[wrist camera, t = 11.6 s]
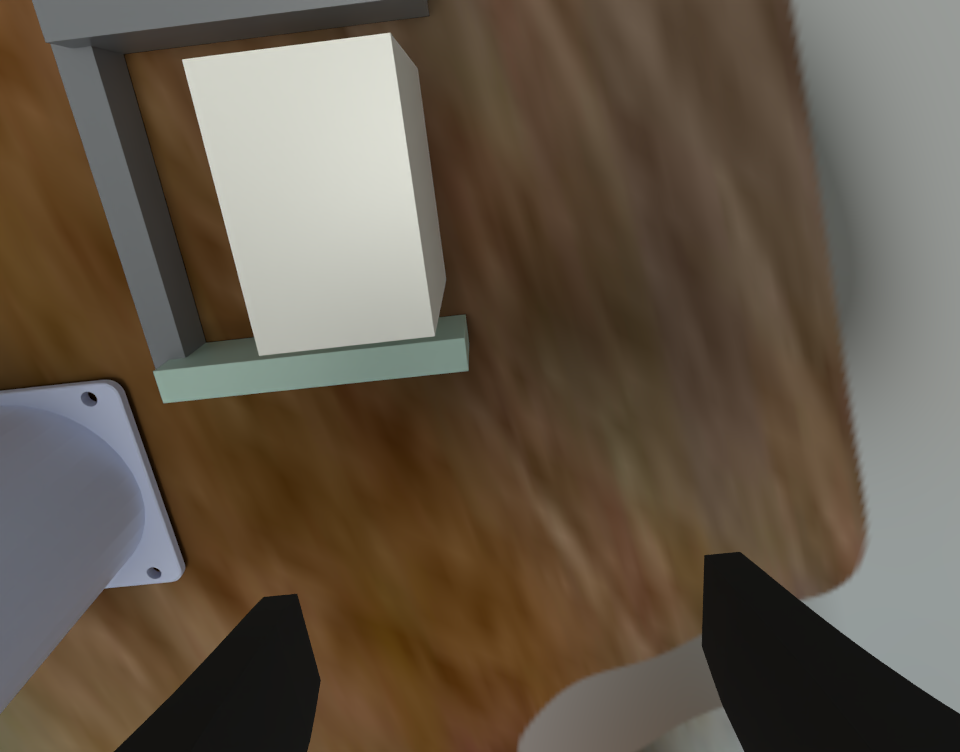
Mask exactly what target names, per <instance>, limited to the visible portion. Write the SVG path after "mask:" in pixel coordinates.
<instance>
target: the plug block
mask: <svg viewBox="0 0 960 752" xmlns="http://www.w3.org/2000/svg"><path fill="white" fill-rule="evenodd" d="M182 61H183V65H184V69H185V73H186V77H187V81H188V84H189V88H190V92H191V96H192V100H193V104H194V107H195V111H196V115H197V119H198V123H199V127H200V131H201V134H202V138H203V142H204V146H205V150H206V154H207V157H208V161H209V165H210V169H211V173H212V177H213V181H214V184H215V188H216V192H217V196H218V200H219V204H220V207H221V211H222V215H223V219H224V223H225V227H226V231H227V234H228V238H229V242H230V246H231V250H232V254H233V257H234V261H235V265H236V269H237V273H238V277H239V281H240V284H241V288H242V292H243V296H244V300H245V304H246V307H247V311H248V315H249V319H250V323H251V327H252V331H253V334H254V338H255V342H256V346H257V350H258V354H259V356H263V355H272V354H281V353H290V352H298V351H307V350H316V349H325V348H334V347H343V346H352V345H361V344H370V343H379V342H388V341H397V340H406V339H415V338H424V337H433V336H435V333H436V328H437V323H438V318H439V313H440V308H441V304H442V299H443V294H444V289H445V284H446V274H445V266H444V259H443V252H442V244H441V237H440V229H439V222H438V215H437V207H436V200H435V192H434V185H433V178H432V170H431V163H430V155H429V148H428V141H427V133H426V126H425V119H424V111H423V104H422V96H421V89H420V82H419V74H418V68H417V67H416V66H415V64H414V63H413V62H412V60H411V59H410V58H409V56H408V55H407V54H406V53H405V51H404V50H403V49H402V47H401V46H400V45H399V43H398V42H397V41H396V40H395V38H394V37H393V36H392V34H391V33H385V34H377V35H369V36H361V37H353V38H346V39H338V40H330V41H322V42H314V43H307V44H299V45H291V46H283V47H276V48H268V49H260V50H252V51H244V52H237V53H229V54H221V55H213V56H205V57H198V58H190V59H182Z"/></svg>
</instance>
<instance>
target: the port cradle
mask: <svg viewBox="0 0 960 752" xmlns="http://www.w3.org/2000/svg"><path fill="white" fill-rule="evenodd" d="M32 2H33V5H34V8H35V11H36V14H37V17H38V20H39V23H40V26H41V29H42V32H43V35H44V38H45V41H46V43H50V44H51V47H52V50H53V53H54V56H55V60H56V63H57V66H58V69H59V72H60V75H61V78H62V81H63V84H64V87H65V90H66V94H67V97H68V100H69V103H70V106H71V109H72V112H73V115H74V118H75V121H76V124H77V128H78V131H79V134H80V137H81V140H82V143H83V146H84V149H85V152H86V155H87V158H88V161H89V165H90V168H91V171H92V174H93V177H94V180H95V183H96V186H97V189H98V192H99V195H100V199H101V202H102V205H103V208H104V211H105V214H106V217H107V220H108V223H109V226H110V229H111V233H112V236H113V239H114V242H115V245H116V248H117V251H118V254H119V257H120V260H121V263H122V267H123V270H124V273H125V276H126V279H127V282H128V285H129V288H130V291H131V294H132V297H133V300H134V304H135V307H136V310H137V313H138V316H139V319H140V322H141V325H142V328H143V331H144V334H145V338H146V341H147V344H148V347H149V350H150V353H151V356H152V359H153V362H154V365H155V368H156V370H154V371H153V373H154V376H155V379H156V382H157V385H158V388H159V391H160V394H161V397H162V400H163V403H170V402H179V401H189V400H198V399H208V398H217V397H227V396H236V395H246V394H255V393H264V392H274V391H283V390H293V389H302V388H312V387H321V386H331V385H340V384H350V383H359V382H368V381H378V380H387V379H397V378H406V377H416V376H425V375H435V374H444V373H454V372H463V371H469V338H468V330H467V322H466V314H465V315H456V316H447V317H439V318H438V323H437V328H436V333H435V336H433V337H424V338H415V339H406V340H397V341H388V342H379V343H370V344H361V345H352V346H343V347H334V348H325V349H316V350H307V351H298V352H290V353H281V354H272V355H263V356H259V354H258V350H257V346H256V342H255V338H244V339H235V340H226V341H217V342H208V343H206V341H205V337H204V334H203V330H202V327H201V323H200V320H199V316H198V313H197V309H196V306H195V302H194V299H193V295H192V292H191V288H190V285H189V281H188V278H187V274H186V271H185V267H184V264H183V260H182V257H181V253H180V250H179V247H178V243H177V240H176V236H175V233H174V229H173V226H172V222H171V219H170V215H169V212H168V208H167V205H166V201H165V198H164V194H163V191H162V187H161V184H160V180H159V177H158V173H157V170H156V166H155V163H154V159H153V156H152V152H151V149H150V145H149V142H148V138H147V135H146V131H145V128H144V124H143V121H142V118H141V114H140V111H139V107H138V104H137V100H136V97H135V93H134V90H133V86H132V83H131V79H130V76H129V72H128V69H127V65H126V62H125V58H124V55H123V54H128V53H136V52H144V51H152V50H160V49H168V48H176V47H184V46H192V45H200V44H208V43H216V42H224V41H232V40H240V39H248V38H256V37H264V36H272V35H280V34H288V33H296V32H304V31H312V30H320V29H328V28H336V27H344V26H352V25H360V24H368V23H376V22H384V21H392V20H400V19H408V18H416V17H424V16H429V11H428V2H427V0H32Z"/></svg>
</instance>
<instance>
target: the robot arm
mask: <svg viewBox="0 0 960 752" xmlns="http://www.w3.org/2000/svg"><path fill="white" fill-rule="evenodd" d="M88 392H91V393H93V394H94V395H95V396H96V397H97V402H96V401H93V400H92V399H90V397H89V396H88ZM153 567H154V568H157V569H159V570H160V572H158V571H156V570H154V569H153ZM184 571H185V563H184V560H183V558H182V555H181V552H180V549H179V546H178V543H177V540H176V537H175V535H174V532H173V529H172V526H171V523H170V520H169V517H168V514H167V512H166V509H165V506H164V503H163V500H162V497H161V494H160V492H159V489H158V486H157V483H156V480H155V477H154V474H153V471H152V469H151V466H150V463H149V460H148V457H147V454H146V451H145V448H144V446H143V443H142V440H141V437H140V434H139V431H138V428H137V426H136V423H135V420H134V417H133V414H132V411H131V408H130V405H129V403H128V400H127V397H126V394H125V391H124V390H123V388H122V386H120V385H119V384H118V383H117V382H115V381H112V380H96V381H86V382H77V383H68V384H58V385H49V386H40V387H30V388H21V389H12V390H2V391H0V714H1V713H2V711H3V710H4V709H5V708H6V707H7V705H8V704H9V703H10V702H11V700H12V699H13V698H14V697H15V696H16V694H17V693H18V692H19V691H20V690H21V688H22V687H23V686H24V685H25V684H26V682H27V681H28V680H29V679H30V678H31V676H32V675H33V674H34V673H35V672H36V670H37V669H38V668H39V667H40V665H41V664H42V663H43V662H44V661H45V659H46V658H47V657H48V656H49V655H50V653H51V652H52V651H53V650H54V649H55V647H56V646H57V645H58V644H59V643H60V641H61V640H62V639H63V638H64V637H65V635H66V634H67V633H68V632H69V630H70V629H71V628H72V627H73V626H74V624H75V623H76V622H77V621H78V620H79V618H80V617H81V616H82V615H83V614H84V612H85V611H86V610H87V609H88V608H89V606H90V605H91V604H92V603H93V602H94V600H95V599H96V598H97V597H98V595H99V594H100V593H101V592H102V591H103V589H104V588H114V587H125V586H135V585H145V584H156V583H166V582H174V581H177V580H178V579H179V578H180V577H181V576H182V574H183V573H184ZM702 648H703V651H704V654H705V657H706V660H707V663H708V665H709V669H710V671H711V674H712V677H713V680H714V683H715V686H716V688H717V691H718V694H719V697H720V700H721V702H722V705H723V707H724V709H725V712H726V714H727V716H728V718H729V720H730V722H731V724H732V726H733V729H734V731H735V733H736V735H737V737H738V739H739V741H740V743H741V745H742V747H743V750H744V752H960V714H959V713H958V712H956V711H954V710H953V709H951V708H950V707H948V706H946V705H945V704H943V703H942V702H940V701H938V700H937V699H935V698H934V697H932V696H931V695H929V694H928V693H926V692H925V691H923V690H922V689H920V688H919V687H917V686H916V685H914V684H913V683H911V682H910V681H908V680H907V679H906V678H904V677H903V676H901V675H900V674H898V673H897V672H895V671H894V670H892V669H891V668H889V667H888V666H887V665H885V664H884V663H882V662H881V661H879V660H878V659H877V658H875V657H874V656H872V655H871V654H870V653H868V652H867V651H866V650H864V649H863V648H861V647H860V646H859V645H857V644H856V643H855V642H853V641H852V640H850V639H849V638H848V637H846V636H845V635H844V634H842V633H841V632H840V631H839V630H837V629H836V628H835V627H833V626H832V625H831V624H829V623H828V622H827V621H825V620H824V619H823V618H822V617H820V616H819V615H818V614H816V613H815V612H814V611H812V610H811V609H810V608H809V607H808V606H806V605H805V604H804V603H802V602H801V601H800V600H799V599H797V598H796V597H795V596H794V595H792V594H791V593H790V592H789V591H788V590H786V589H785V588H784V587H783V586H781V585H780V584H779V583H778V582H776V581H775V580H774V579H773V578H772V577H770V576H769V575H768V574H767V573H765V572H764V571H763V570H762V569H761V568H759V567H758V566H757V565H756V564H754V563H753V562H752V561H751V560H749V559H748V558H747V557H746V556H744V555H743V554H742V553H741V552H734V553H723V554H713V555H704V589H703V624H702ZM320 681H321V680H320V676H319V673H318V669H317V665H316V662H315V658H314V654H313V651H312V647H311V643H310V640H309V636H308V632H307V629H306V625H305V621H304V618H303V614H302V610H301V607H300V603H299V599H298V596H297V594H291V595H281V596H270V597H263V598H262V599H261V600H260V601H259V602H258V603H257V604H256V605H255V606H254V607H253V609H252V610H251V611H250V612H249V613H248V614H247V615H246V616H245V617H244V618H243V619H242V620H241V621H240V623H239V624H238V625H237V626H236V627H235V628H234V629H233V630H232V631H231V632H230V633H229V635H228V636H227V637H226V638H225V639H224V640H223V641H222V642H221V643H220V644H219V645H218V647H217V648H216V649H215V650H214V651H213V652H212V653H211V654H210V655H209V656H208V657H207V658H206V659H205V660H204V662H203V663H202V664H201V665H200V666H199V667H198V668H197V669H196V670H195V671H194V672H193V673H192V674H191V675H190V676H189V677H188V678H187V680H186V681H185V682H184V683H183V684H182V685H181V686H180V687H179V688H178V689H177V690H176V691H175V692H174V693H173V694H172V695H171V696H170V697H169V698H168V699H167V700H166V701H165V702H164V703H163V704H162V705H161V706H160V707H159V708H158V709H157V710H156V711H155V712H154V713H153V714H152V715H151V716H150V717H149V718H148V719H147V720H146V721H145V722H144V723H143V724H142V725H141V726H140V727H139V728H138V729H137V730H136V731H135V732H134V733H133V734H132V735H131V736H130V737H129V738H128V739H127V740H125V741H124V742H123V743H122V744H121V745H120V746H119V747H118V748H117V749H116V750H115V751H114V752H307V750H308V746H309V742H310V738H311V733H312V727H313V722H314V717H315V711H316V705H317V699H318V693H319V687H320Z"/></svg>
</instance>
